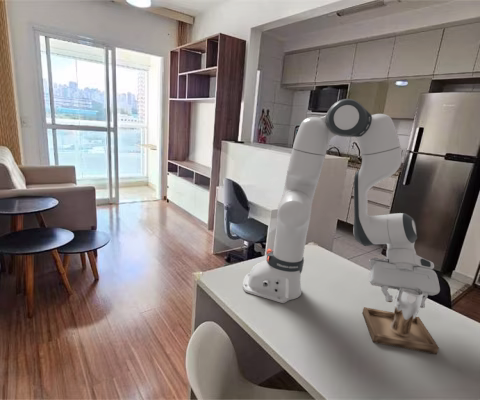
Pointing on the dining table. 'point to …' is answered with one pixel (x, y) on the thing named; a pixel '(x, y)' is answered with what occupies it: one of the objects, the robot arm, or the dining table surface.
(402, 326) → the beer glass
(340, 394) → the dining table surface
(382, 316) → the walnut tray
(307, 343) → the dining table surface
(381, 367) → the dining table surface
